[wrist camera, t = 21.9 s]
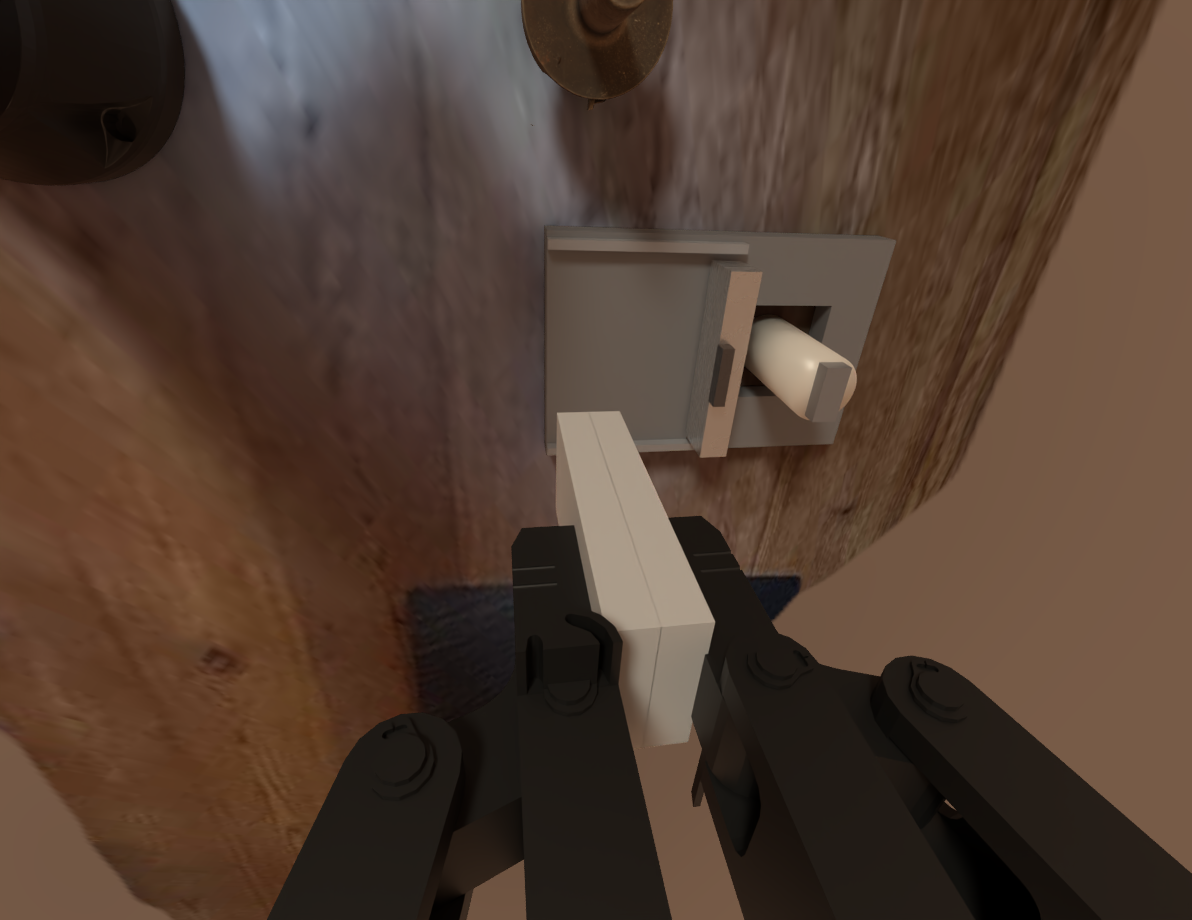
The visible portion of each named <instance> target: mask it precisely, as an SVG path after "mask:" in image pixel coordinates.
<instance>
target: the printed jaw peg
mask: <svg viewBox="0 0 1192 920" xmlns="http://www.w3.org/2000/svg"><path fill="white" fill-rule="evenodd" d="M744 366H745V367H746V368H747V369H748V370H749V371H750V372H751V373H753V374H754V375H755V376H756V377H757V378H758V379H759V380H760V381H761V382H762V383H763V384H764V385H765V386H767V387H768V388H769V389H770V390H771V391H772V392H773V393H774V394H775V395H776V396H777V397H778V398H780V399H781V400H782V401H783V402H784V403H785V404H786V405H787V406H788V407H789V408H790V409H791V410H792V411H794V412H795V413H796V414H797V415H798V416H799V417H801V418H803V419H806V420H810V421H811V422H835V421H836V418H837V415H838V412H839V411H840V410H841V409H842V408H843V407H844V406H845V405H846V404H847V403H848V401H849V400H850V398H851V397H852V395H853V393H854V390H855V387H856V382H857V376H856V371H855V368H854V366H853V365H852V364H851V363H850V362H849V361H848V360H847V359H845V358H844V357H842V356H840V355H839V354H837V353H836V352H834V351H833V350H831V349H829V348H828V347H826V346H825V345H823V344H822V343H820V342H818V341H817V340H815V339H814V338H812V337H811V336H809V335H807V334H806V333H804V332H803V331H801V330H800V329H798V328H796V327H795V326H793V325H792V324H790V323H789V322H787V321H785V320H784V319H782V318H781V317H779V316H776V315H771V314H768V315H762V316H759V317H756V318H754V319H753V323H752V328H751V333H750V338H749V343H748V348H747V354H746V359H745V364H744Z"/></svg>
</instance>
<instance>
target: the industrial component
mask: <svg viewBox="0 0 1192 920" xmlns="http://www.w3.org/2000/svg"><path fill="white" fill-rule="evenodd" d="M672 11H673V0H521V13H522V22H523V28H524V32H525V36H526V40H527V43H528V46H529V48H530V51H531V53H532V55H533V57H534V59H535V61H536V63H537V64H538V66H539V68H540V69H541V70H542V72H544V73H545V74H547V75H548V76H549V77H550V78H551V79H552V80H554V81H555V82H556V83H557V84H558V85H560V86H561V87H562V88H564V89H565V90H567V91H569V92H571V93H573V94H575V95H577V96H580V97H584V98H588V109H587V110H592V109H593V105H594V104H596V103H601V102H604V101H605V100H606V99H611V98H615V97H617V96H620V95H622V94H625V93H627V92H628V91H630V90H632V89H633V88H635V87H636V86H637V85H639V84H640V83H641V82H642V81H643V80H644V79H645V78H646V77H647V76H648V75H649V74H650V72H651V71H652V70H653V68H654V67H655V65H656V64H657V62H658V60H659V58H660V57H661V54H662V52H663V50H664V48H665V45H666V42H667V39H668V36H669V32H670V27H671V20H672ZM531 125H532V124H531ZM532 126H533V125H532Z"/></svg>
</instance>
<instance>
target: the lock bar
mask: <svg viewBox="0 0 1192 920" xmlns="http://www.w3.org/2000/svg"><path fill="white" fill-rule="evenodd" d="M762 273H763V272H762V271H760V270H758V269H756V268H754V267H752V266H750V265H748V264H746V263H744V262H742V261H724V260H712V262H711V269H710V275H709V282H708V289H707V295H706V302H705V308H704V315H703V322H702V328H701V335H700V342H699V348H698V355H697V361H696V368H695V375H694V381H693V388H692V395H691V401H690V408H689V414H688V421H687V428H686V434H685V435H686V437H687V438H688V440H689V441H690V443H691V445H692V446H693V448H694V449H695V451H696V452H697V454H698V456H699V457H700V458H703V457H726V454H727V449H728V444H729V439H730V434H731V429H732V424H733V419H734V414H735V409H736V404H737V399H738V394H739V389H740V384H741V379H742V374H743V369H744V364H745V359H746V354H747V348H748V343H749V338H750V333H751V328H752V323H753V318H754V313H755V308H756V303H757V298H758V293H759V288H760V283H761V278H762Z"/></svg>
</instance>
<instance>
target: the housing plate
mask: <svg viewBox="0 0 1192 920" xmlns="http://www.w3.org/2000/svg"><path fill="white" fill-rule="evenodd" d="M895 243H896V240H893V239H889V238H885V237H881V236H867V235H834V234H802V233H769V232H737V231H704V230H672V229H639V228H607V227H574V226H544V443H545V449H546V455H547V456H551V455H556V448H557V413H566V412H605V411H620V413H621V415H622V417H623V420H624V422H625V424H626V426H627V428H628V431H629V433H630V435H631V437H632V439H633V442H634V444H635V446H636V448H637V450H638V452H656V451H682V450H695V449H694V448H693V446H692V445H691V443H690V441H689V440H688V438H687V437H686V435H685V434H686V428H687V421H688V414H689V408H690V401H691V395H692V388H693V381H694V375H695V368H696V361H697V355H698V348H699V342H700V335H701V328H702V322H703V315H704V308H705V302H706V295H707V289H708V282H709V275H710V269H711V262H712V260H724V261H742V262H744V263H746V264H748V265H750V266H752V267H754V268H756V269H758V270H760V271H762V272H763V273H762V278H761V283H760V288H759V293H758V298H757V303H756V305H776V306H816V308H815V312H814V316H813V319H812V323H811V327H810V331H809V336H811V337H812V338H814V339H815V340H817V341H818V342H820V343H822V344H823V345H825V346H826V347H828V348H829V349H831V350H833V351H834V352H836V353H837V354H839V355H840V356H842V357H844V358H845V359H847V360H848V361H849V362H850V363H851V364H852V365H853V366H854V368H855V371H856V368H857V365H858V362H859V358H860V355H861V352H862V349H863V346H864V342H865V339H866V336H867V333H868V330H869V326H870V323H871V320H872V317H873V314H874V310H875V307H876V304H877V301H878V298H879V294H880V291H881V288H882V285H883V282H884V278H885V275H886V272H887V269H888V266H889V262H890V259H891V256H892V253H893V250H894V246H895ZM843 410H844V407H843V408H842V409H841V410H840V411H839V412H838V415H837V418H836V421H835V422H811V421H810V420H806V419H803V418H801V417H799V416H798V415H797V414H796V413H795V412H794V411H792V410H791V409H790V408H789V407H788V406H787V405H786V404H785V403H784V402H783V401H782V400H781V399H780V398H778V397H777V396H776V395H775V394H774V393H773V392H772V391H771V390H770V389H769V388H768V387H767V386H743V387H740V389H739V394H738V399H737V404H736V409H735V414H734V419H733V424H732V429H731V434H730V439H729V444H728V448H741V447H768V446H794V445H820V444H833V442H834V438H835V435H836V432H837V429H838V426H839V422H840V419H841V416H842V413H843Z"/></svg>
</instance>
